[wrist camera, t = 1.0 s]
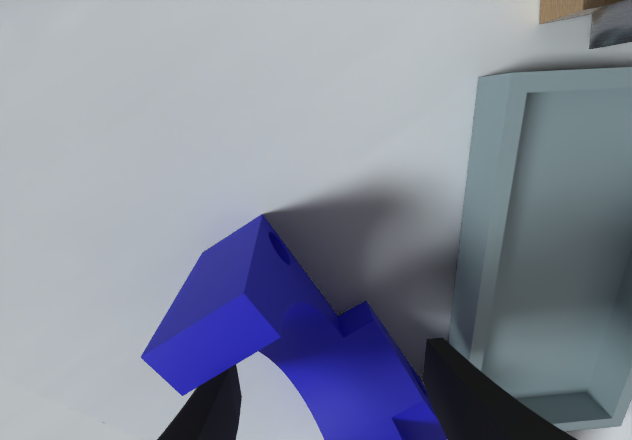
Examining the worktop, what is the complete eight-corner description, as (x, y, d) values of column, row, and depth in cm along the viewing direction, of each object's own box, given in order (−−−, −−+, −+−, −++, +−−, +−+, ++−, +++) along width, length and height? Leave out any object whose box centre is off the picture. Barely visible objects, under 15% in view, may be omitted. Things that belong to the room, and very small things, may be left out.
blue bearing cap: (422, 382, 17) (492, 521, 11) (348, 423, 17) (378, 577, 11) (293, 193, 13) (298, 258, 7) (202, 252, 13) (140, 357, 8)
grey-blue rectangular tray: (587, 393, 18) (620, 426, 16) (440, 406, 17) (457, 441, 15) (693, 66, 12) (762, 60, 10) (478, 77, 12) (511, 72, 10)
